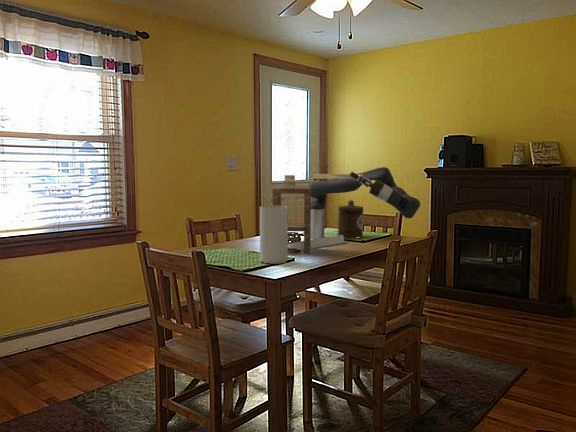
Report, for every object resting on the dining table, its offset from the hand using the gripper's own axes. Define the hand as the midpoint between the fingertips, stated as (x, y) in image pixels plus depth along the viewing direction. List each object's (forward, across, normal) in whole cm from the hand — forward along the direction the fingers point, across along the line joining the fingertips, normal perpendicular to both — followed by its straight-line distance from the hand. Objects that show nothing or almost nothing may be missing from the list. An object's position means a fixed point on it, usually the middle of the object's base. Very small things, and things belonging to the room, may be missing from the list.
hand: (350, 173), depth 252 cm
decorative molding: (-5, -21, +43) cm, 49 cm away
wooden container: (-21, -53, +33) cm, 66 cm away
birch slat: (+4, 0, +5) cm, 7 cm away
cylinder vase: (+11, +26, +52) cm, 59 cm away
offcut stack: (+23, -8, +22) cm, 33 cm away
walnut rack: (+6, -3, +48) cm, 49 cm away
